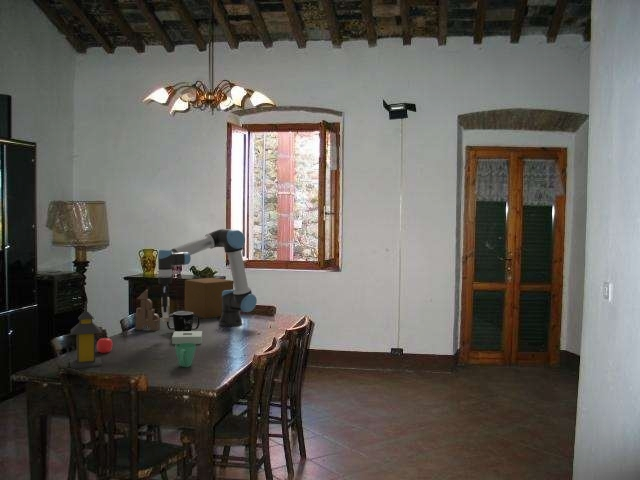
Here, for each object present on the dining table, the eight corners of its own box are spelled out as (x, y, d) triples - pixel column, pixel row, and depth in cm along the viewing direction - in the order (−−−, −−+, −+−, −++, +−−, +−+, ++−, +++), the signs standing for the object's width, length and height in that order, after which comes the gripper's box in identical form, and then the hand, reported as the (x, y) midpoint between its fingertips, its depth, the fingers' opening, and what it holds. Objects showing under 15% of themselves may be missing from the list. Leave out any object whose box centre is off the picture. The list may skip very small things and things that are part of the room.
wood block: (184, 314, 435) (184, 279, 434) (212, 310, 453) (212, 277, 452) (205, 318, 418) (205, 283, 417) (233, 314, 436) (233, 280, 435)
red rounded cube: (96, 350, 317) (96, 335, 317) (112, 349, 320) (112, 334, 320) (96, 354, 310) (96, 338, 309) (113, 353, 313) (113, 337, 313)
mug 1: (177, 336, 358) (177, 316, 357) (164, 331, 370) (164, 312, 369) (201, 333, 369) (201, 313, 368) (188, 328, 381) (188, 310, 380)
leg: (169, 320, 349) (169, 296, 349) (169, 322, 345) (169, 297, 344) (162, 320, 349) (161, 296, 348) (161, 322, 344) (161, 298, 344)
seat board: (202, 337, 354) (202, 331, 354) (201, 343, 339) (201, 336, 338) (174, 338, 352) (174, 331, 352) (171, 344, 336) (172, 337, 336)
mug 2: (177, 363, 294) (177, 342, 294) (197, 363, 295) (197, 343, 294) (170, 370, 280) (170, 349, 279) (192, 371, 280) (192, 349, 280)
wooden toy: (160, 328, 379) (161, 289, 378) (156, 330, 373) (156, 290, 372) (137, 327, 382) (137, 288, 381) (132, 329, 375) (132, 289, 374)
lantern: (70, 368, 280) (70, 304, 279) (69, 361, 293) (69, 300, 292) (102, 366, 286) (102, 303, 285) (100, 359, 299) (100, 299, 298)
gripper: (160, 274, 353) (160, 314, 355) (156, 278, 336) (157, 320, 338) (173, 274, 355) (173, 314, 356) (170, 278, 337) (171, 319, 339)
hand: (165, 316), depth 347 cm, fingers closed on leg, 4 cm apart
